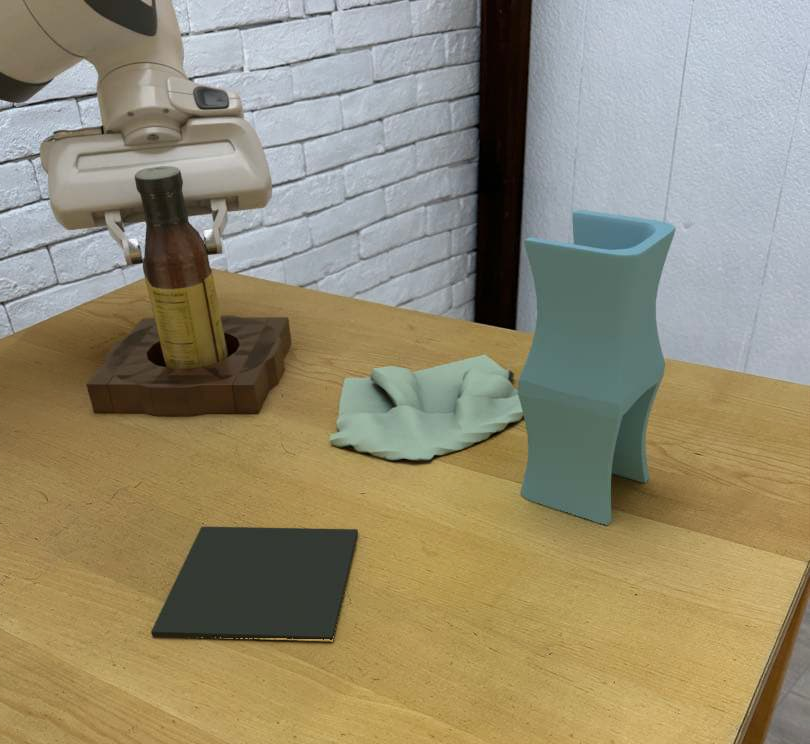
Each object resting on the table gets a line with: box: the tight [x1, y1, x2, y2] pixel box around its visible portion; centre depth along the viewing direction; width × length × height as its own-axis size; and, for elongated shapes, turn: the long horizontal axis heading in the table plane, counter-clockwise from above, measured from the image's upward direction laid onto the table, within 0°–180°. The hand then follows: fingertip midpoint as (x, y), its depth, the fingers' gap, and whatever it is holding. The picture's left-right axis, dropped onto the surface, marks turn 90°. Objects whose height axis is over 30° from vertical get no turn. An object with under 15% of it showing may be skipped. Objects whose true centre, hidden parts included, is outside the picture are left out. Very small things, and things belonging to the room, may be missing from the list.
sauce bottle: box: [135, 166, 228, 368], centre depth 86 cm, size 7×6×20 cm
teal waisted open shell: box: [517, 208, 677, 526], centre depth 66 cm, size 8×8×20 cm
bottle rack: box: [85, 315, 292, 417], centre depth 91 cm, size 17×17×3 cm
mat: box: [150, 526, 359, 640], centre depth 63 cm, size 12×12×1 cm
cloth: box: [328, 354, 524, 462], centre depth 83 cm, size 20×22×2 cm
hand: (175, 256), depth 84 cm, fingers closed on sauce bottle, 6 cm apart
